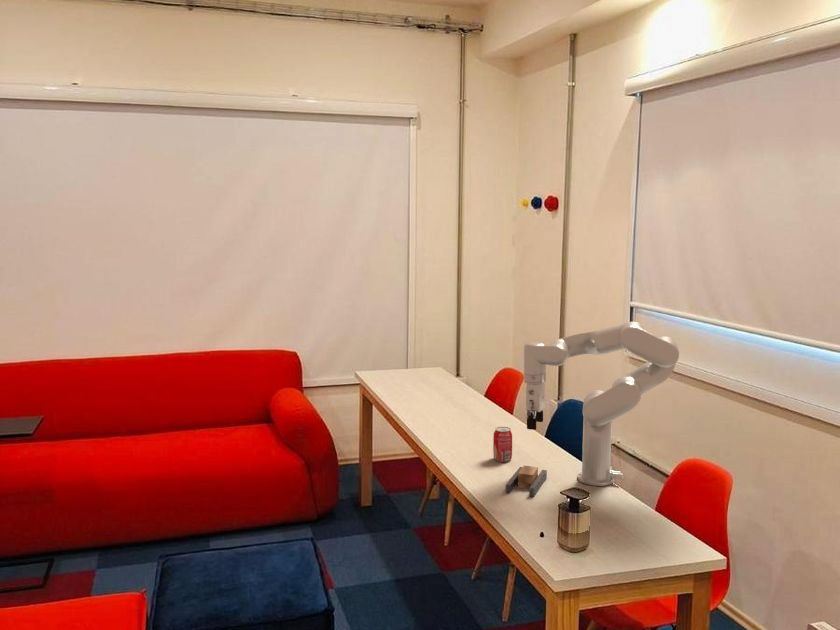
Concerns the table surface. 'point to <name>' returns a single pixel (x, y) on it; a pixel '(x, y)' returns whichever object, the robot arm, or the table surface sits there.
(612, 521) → the table surface
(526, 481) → the walnut block
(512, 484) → the guide channel
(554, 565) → the table surface
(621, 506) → the table surface
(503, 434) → the soda can
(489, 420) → the table surface
